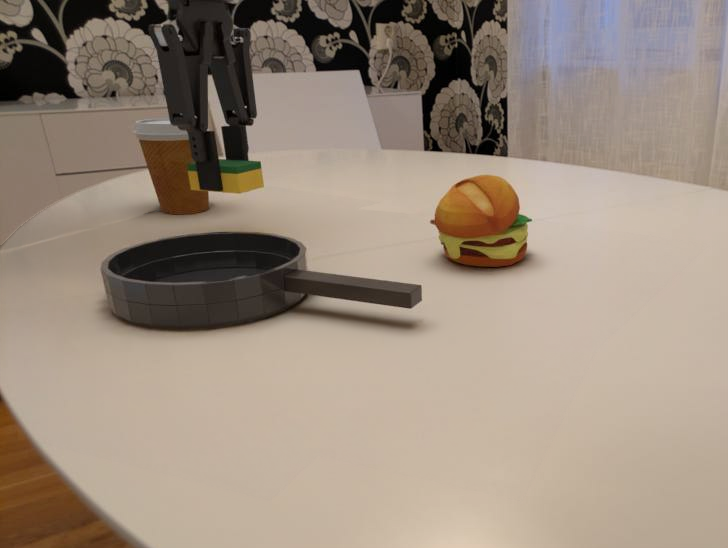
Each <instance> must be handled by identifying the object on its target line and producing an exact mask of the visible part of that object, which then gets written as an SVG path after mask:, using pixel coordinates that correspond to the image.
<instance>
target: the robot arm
mask: <svg viewBox="0 0 728 548" xmlns="http://www.w3.org/2000/svg"><path fill="white" fill-rule="evenodd" d="M164 1H166V2H167V13H166V20H165V21H163V22H161V23H157V24H155V23H152V24H149V25H148V28H147V30H148V34H149V37H150V39H151V41H152V43H153V45H154V48H155V49H156V55H157V61H158V66H159V71H160V76H161V81H162V82H161V83H162V86H163V92H164V98H165V102H166V108H167V114H168V118H169V119H170V123H171V124H172V125H173V126H178V128H179V129H180V130H185V131H187V133H188V137H189V143H190V147H191V148H190V149H191V155H192V158H193V160H194V161H195V163H196V169H197V175H198V181H199V187H200V190H209V191H208V192H212V191H222V190H223V185H222V179H221V172H220V164H219V159H220V157H219V151H218V146H217V139H216V138H217V137H216V131H215V130H209V131H207V129H209V71H210V74H211V78H212V81H213V84H214V87H215V91H216V95H217V98H218V101H219V104H220V107H221V112H222V115H223V118H224V122H225V124H226V125H222V126H220V129H221V136H222V141H223V149H224V155H225V159H226V160H244V161H250V160H249V149H250V148H249V141H248V133H247V127H253V125H254V122H255V119H256V118H257V117H258V111H257V103H256V93H255V84H254V76H253V69H252V67H253V66H252V61H251V51H250V49H251V39H252V35H251V34H252V32H251V31H250V29H249V28H248V27H239V26H237V25H236V24H234V20H233V17H232V16H231V12H230V9H229V4H230V3H232V2H234V0H164Z"/></svg>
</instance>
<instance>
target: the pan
mask: <svg viewBox="0 0 728 548" xmlns="http://www.w3.org/2000/svg"><path fill="white" fill-rule="evenodd" d="M308 258H309V257H308V248H307V246H305V245H304V243H303V242H301V241H300V240H297V239H295V238H292V237H289V236H285V235H281V234H275V233H268V232H258V231H257V232H256V231H211V232H209V231H208V232H200V233H199V232H198V233H188V234H181V235H174V236H168V237H167V236H166V237H163V238H158V239H152V240H149V241H143V242H140V243H138V244H134V245H131V246H128V247H125V248H122V249H119V250H118V251H115V252H113V253H111V254H110V255H108V256H107V257H106V258H105V259H104V260H102V261H101V262H100V268H99V269H100V275H101V279H102V282H103V287H104V291H105V296H106V299H107V304H108V308H109V309H110V311H112V312H113V313H114V314H115V315H116V316H117V317H119V318H121V319H123V320H124V321H126V322H128V323H130V324H134V325H137V326H141V327H146V328H151V329H160V330H180V331H181V330H182V331H183V330H202V329H203V330H204V329H206V330H207V329H215V328H222V327H223V328H224V327H230V326H237V325H242V324H247V323H251V322H255V321H258V320H262V319H265V318H269V317H272V316H274V315H278V314H279V313H282V312H284V311H287V310H288V309H291V308H292V307H293V306H295V305H297V304H298V303H299V302H300V301H302V300H303V298H304V297H305V295H306V294H300V293H293V292H286V291H285V286H284V278H283V277H284V276H285V275H287V274H289V273H292V272H294V271H296V270H306V271H310V269H309V260H308Z"/></svg>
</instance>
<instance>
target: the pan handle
mask: <svg viewBox="0 0 728 548" xmlns="http://www.w3.org/2000/svg"><path fill="white" fill-rule="evenodd" d="M283 278H284V286H285V291H286V292H293V293H300V294H305V295H309V296H315V297H321V298H322V297H323V298H329V299H337V300H345V301H350V302H351V301H352V302H359V303H366V304H373V305H379V306H380V305H381V306H387V307H395V308H402V309H409V310H411V309H413V308H414V307H415V306H417V305H418V304H419V303H421V302H422V301H423V291H422V289H423V286H422V285H421V284H415V283H408V282H400V281H391V280H386V279H385V280H383V279H376V278H369V277H359V276H351V275H345V274H338V273H337V274H335V273H330V272H329V273H328V272H322V271H321V272H319V271H312V270H309V271H306V270H296V271H294V272H292V273H289V274H287V275H285V276H284V277H283Z"/></svg>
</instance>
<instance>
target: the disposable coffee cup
mask: <svg viewBox="0 0 728 548" xmlns="http://www.w3.org/2000/svg"><path fill="white" fill-rule="evenodd" d="M134 122H135V123H134V124H135V127H134V128H135V130H133V131H132V132H133V134H134V135H135V137H136V139H137V140H138V141H139V144H140V145H139V146H140V148H141V152H142V154H143V157H144V161H145V164H146V167H147V170H148V172H149V176H150V179H151V182H152V185H153V188H154V191H155V195H156V198H157V200H158V204H159V208H160V209H161V212H162V213H164V214H170V215H189V214H197V213H202V212H205V211H207V210H209V209H210V200H209V197H210V196H209V191H199V190H191V187H190V181H189V175H188V170H187V164H188V163H193V162H195V161H194V160H193V158H192V155H191V149H190V148H191V147H190V143H189V137H188V133H187V131H185V130H180V129H179V128H178V126H173V125H172V124H171V123H170V119H169V117H164V118H147V119H139V120H136V121H134ZM207 131H210V128H208V129H207Z"/></svg>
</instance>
